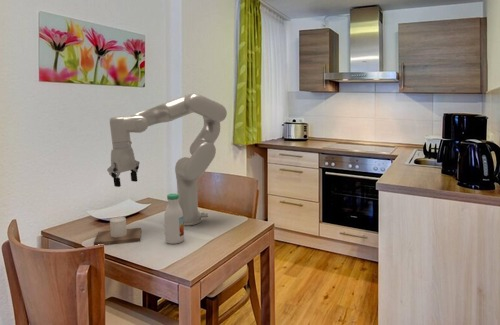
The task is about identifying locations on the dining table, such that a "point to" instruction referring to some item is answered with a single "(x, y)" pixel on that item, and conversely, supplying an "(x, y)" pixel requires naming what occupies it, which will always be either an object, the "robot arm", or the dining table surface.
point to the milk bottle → (173, 220)
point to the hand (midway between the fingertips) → (126, 183)
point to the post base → (106, 238)
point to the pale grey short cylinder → (118, 227)
